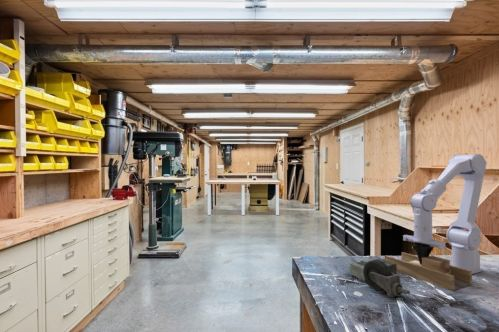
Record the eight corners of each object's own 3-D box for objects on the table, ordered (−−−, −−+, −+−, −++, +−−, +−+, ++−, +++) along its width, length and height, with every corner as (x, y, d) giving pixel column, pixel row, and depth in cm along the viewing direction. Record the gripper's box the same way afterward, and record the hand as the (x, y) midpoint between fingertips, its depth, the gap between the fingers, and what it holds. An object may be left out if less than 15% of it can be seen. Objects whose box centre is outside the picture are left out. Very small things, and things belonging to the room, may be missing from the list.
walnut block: (432, 266, 107) (432, 255, 107) (449, 271, 102) (449, 260, 102) (422, 269, 104) (421, 257, 104) (439, 274, 99) (439, 262, 99)
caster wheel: (361, 289, 97) (403, 302, 84) (358, 259, 98) (399, 267, 85) (373, 285, 100) (415, 298, 87) (370, 256, 101) (412, 264, 88)
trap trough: (403, 263, 120) (403, 252, 120) (471, 284, 98) (471, 271, 98) (384, 267, 115) (384, 255, 115) (452, 290, 93) (452, 276, 93)
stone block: (347, 275, 108) (347, 261, 108) (378, 270, 113) (378, 256, 113) (365, 284, 100) (364, 268, 100) (397, 278, 105) (397, 263, 105)
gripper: (397, 224, 112) (398, 260, 112) (436, 231, 99) (436, 272, 99) (409, 222, 115) (410, 257, 115) (448, 229, 102) (449, 269, 102)
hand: (423, 264), depth 107 cm, fingers closed
